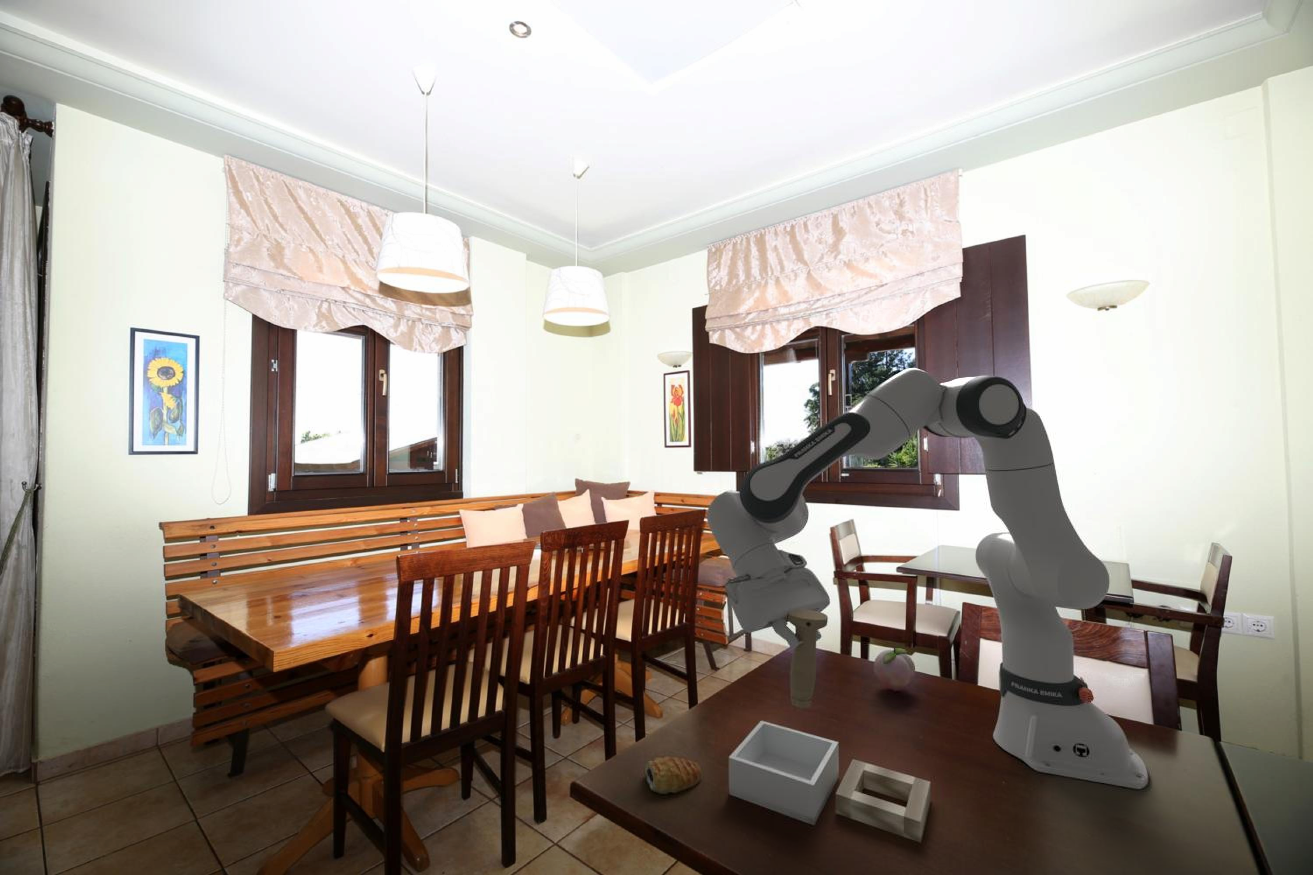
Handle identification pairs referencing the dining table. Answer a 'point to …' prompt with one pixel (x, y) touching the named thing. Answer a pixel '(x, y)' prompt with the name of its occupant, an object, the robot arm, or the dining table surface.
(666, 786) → the pastry
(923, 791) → the socket block
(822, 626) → the handle
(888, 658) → the decorative fruit
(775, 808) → the bin
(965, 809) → the dining table surface
